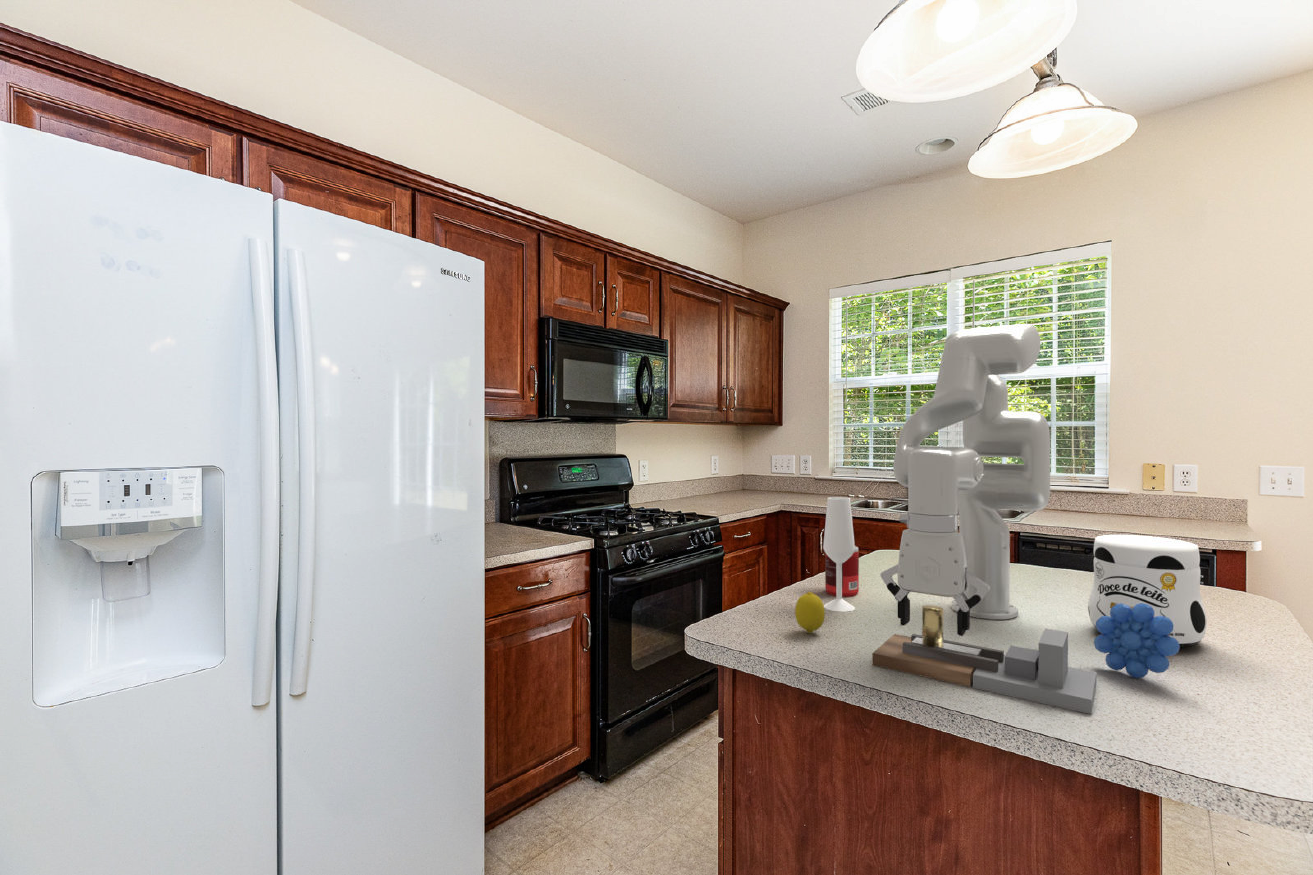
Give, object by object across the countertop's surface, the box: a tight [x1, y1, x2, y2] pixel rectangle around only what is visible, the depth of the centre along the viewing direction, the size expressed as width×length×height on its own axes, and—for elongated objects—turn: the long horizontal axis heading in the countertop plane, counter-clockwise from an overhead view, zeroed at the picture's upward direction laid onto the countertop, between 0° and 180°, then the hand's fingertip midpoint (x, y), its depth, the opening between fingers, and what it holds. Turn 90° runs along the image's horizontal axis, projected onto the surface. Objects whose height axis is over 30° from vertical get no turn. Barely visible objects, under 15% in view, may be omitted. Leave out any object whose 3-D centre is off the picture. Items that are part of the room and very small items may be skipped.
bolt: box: [911, 604, 981, 657], centre depth 103 cm, size 3×10×7 cm, turn 52°
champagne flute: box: [822, 496, 856, 613], centre depth 137 cm, size 7×7×24 cm
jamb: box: [972, 628, 1097, 715], centre depth 95 cm, size 12×15×8 cm
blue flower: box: [1093, 603, 1180, 679], centre depth 98 cm, size 12×7×12 cm, turn 27°
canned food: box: [824, 545, 860, 598], centre depth 149 cm, size 8×8×11 cm
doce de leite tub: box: [1087, 534, 1208, 648], centre depth 116 cm, size 17×17×18 cm
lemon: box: [794, 591, 826, 634], centre depth 120 cm, size 6×6×8 cm
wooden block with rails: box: [871, 633, 1005, 688], centre depth 103 cm, size 12×18×4 cm, turn 52°
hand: (932, 628), depth 104 cm, fingers open, 8 cm apart
